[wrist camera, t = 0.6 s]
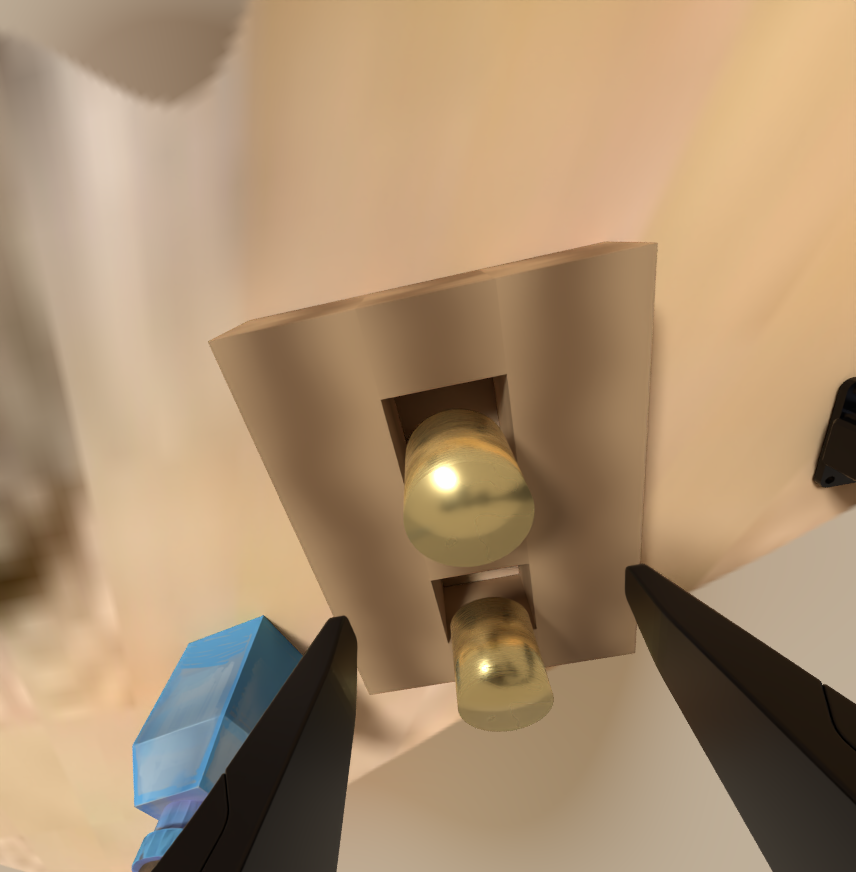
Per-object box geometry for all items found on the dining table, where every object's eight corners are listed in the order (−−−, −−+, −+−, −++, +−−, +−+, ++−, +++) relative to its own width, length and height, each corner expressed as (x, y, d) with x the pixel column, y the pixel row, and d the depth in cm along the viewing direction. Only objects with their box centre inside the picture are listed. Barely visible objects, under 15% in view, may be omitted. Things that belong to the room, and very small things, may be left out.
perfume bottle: (243, 690, 30) (150, 942, 19) (188, 643, 27) (45, 903, 17) (313, 666, 29) (256, 917, 18) (263, 614, 26) (162, 872, 16)
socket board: (605, 241, 17) (657, 242, 13) (605, 597, 27) (635, 653, 23) (248, 320, 18) (207, 341, 14) (375, 635, 28) (369, 695, 24)
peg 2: (525, 590, 19) (550, 667, 15) (532, 644, 21) (556, 723, 17) (443, 604, 19) (450, 684, 16) (457, 656, 21) (466, 737, 18)
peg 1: (501, 399, 14) (528, 449, 11) (512, 488, 16) (539, 555, 13) (394, 420, 15) (389, 476, 11) (417, 506, 16) (418, 576, 13)
